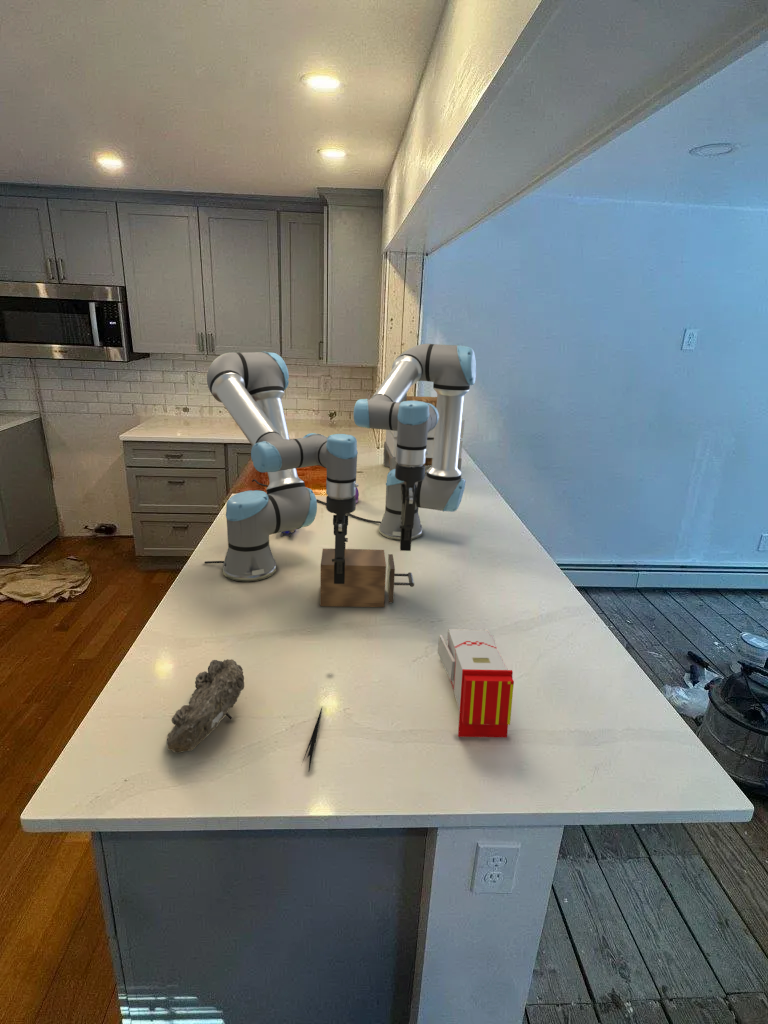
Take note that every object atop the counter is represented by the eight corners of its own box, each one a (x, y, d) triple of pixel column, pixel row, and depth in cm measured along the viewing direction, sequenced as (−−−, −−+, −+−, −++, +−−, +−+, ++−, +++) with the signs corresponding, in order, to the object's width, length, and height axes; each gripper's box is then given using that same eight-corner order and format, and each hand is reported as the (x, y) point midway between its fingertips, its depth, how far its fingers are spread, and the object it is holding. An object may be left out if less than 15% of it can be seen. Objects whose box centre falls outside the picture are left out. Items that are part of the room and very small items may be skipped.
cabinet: (382, 588, 160) (384, 549, 156) (384, 607, 151) (386, 566, 147) (322, 587, 159) (322, 548, 155) (320, 606, 150) (320, 564, 145)
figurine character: (295, 542, 192) (300, 522, 205) (294, 523, 188) (300, 503, 202) (275, 542, 191) (282, 521, 205) (274, 522, 188) (281, 502, 201)
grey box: (382, 463, 289) (386, 382, 275) (445, 464, 293) (451, 384, 279) (390, 482, 257) (394, 392, 243) (460, 483, 261) (468, 394, 247)
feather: (331, 679, 122) (336, 673, 122) (307, 777, 96) (313, 769, 95) (324, 675, 122) (329, 669, 121) (298, 772, 95) (304, 764, 95)
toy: (488, 613, 130) (523, 677, 101) (484, 667, 133) (517, 744, 104) (435, 612, 130) (455, 676, 101) (432, 666, 133) (451, 743, 103)
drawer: (410, 586, 160) (412, 554, 157) (413, 603, 151) (416, 569, 148) (335, 585, 159) (336, 553, 155) (334, 601, 150) (335, 567, 147)
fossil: (192, 660, 117) (244, 628, 112) (224, 691, 120) (276, 661, 115) (142, 746, 98) (202, 712, 93) (182, 779, 101) (242, 748, 96)
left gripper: (356, 511, 134) (353, 594, 142) (355, 482, 156) (353, 556, 163) (324, 510, 134) (323, 593, 141) (328, 482, 155) (327, 555, 163)
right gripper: (428, 471, 137) (422, 560, 145) (422, 457, 149) (416, 540, 157) (397, 470, 137) (392, 559, 145) (393, 456, 149) (389, 539, 157)
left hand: (339, 573), depth 152 cm, fingers closed on cabinet, 10 cm apart
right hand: (405, 549), depth 151 cm, fingers closed
